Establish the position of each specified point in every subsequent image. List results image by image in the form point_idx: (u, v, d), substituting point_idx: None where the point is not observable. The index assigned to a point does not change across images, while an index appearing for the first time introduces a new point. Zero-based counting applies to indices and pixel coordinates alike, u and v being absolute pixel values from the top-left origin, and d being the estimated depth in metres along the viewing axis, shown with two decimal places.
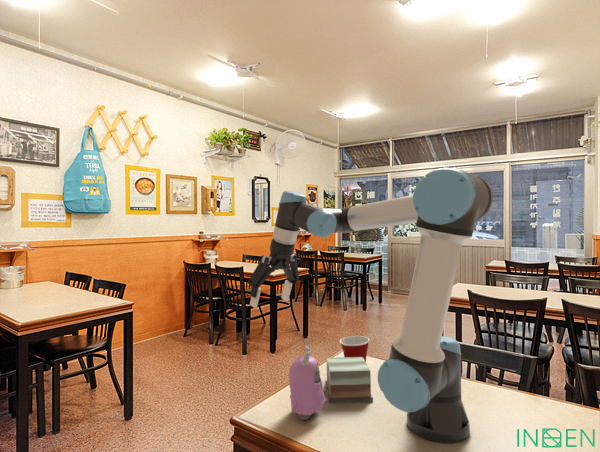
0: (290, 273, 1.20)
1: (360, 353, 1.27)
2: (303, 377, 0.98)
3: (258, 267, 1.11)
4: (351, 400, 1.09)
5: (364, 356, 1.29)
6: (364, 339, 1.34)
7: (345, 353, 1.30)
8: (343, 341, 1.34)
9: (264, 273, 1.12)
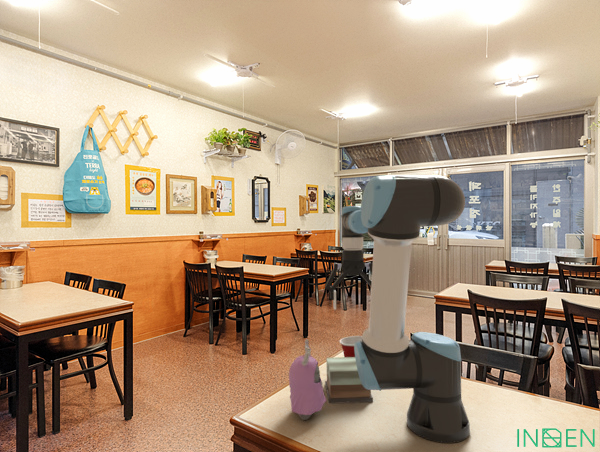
0: (368, 280, 1.31)
1: None
2: (303, 377, 0.98)
3: None
4: (351, 400, 1.09)
5: None
6: None
7: (345, 353, 1.30)
8: (343, 341, 1.34)
9: (338, 278, 1.32)
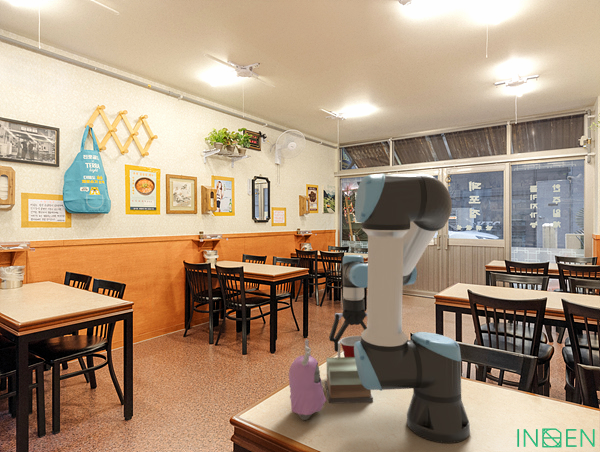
0: None
1: None
2: (303, 377, 0.98)
3: (333, 323, 1.32)
4: (351, 400, 1.09)
5: None
6: None
7: (345, 353, 1.30)
8: (343, 341, 1.34)
9: (341, 329, 1.31)
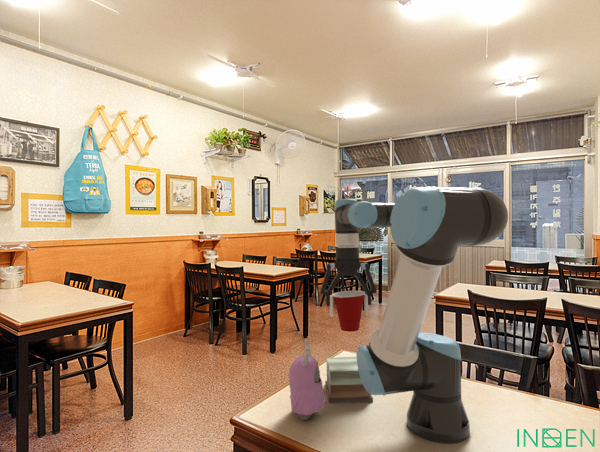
0: (362, 282, 1.18)
1: (354, 306, 1.14)
2: (303, 377, 0.98)
3: (325, 275, 1.19)
4: (351, 400, 1.09)
5: (359, 310, 1.16)
6: (359, 293, 1.21)
7: (338, 307, 1.17)
8: (336, 295, 1.22)
9: (333, 281, 1.19)
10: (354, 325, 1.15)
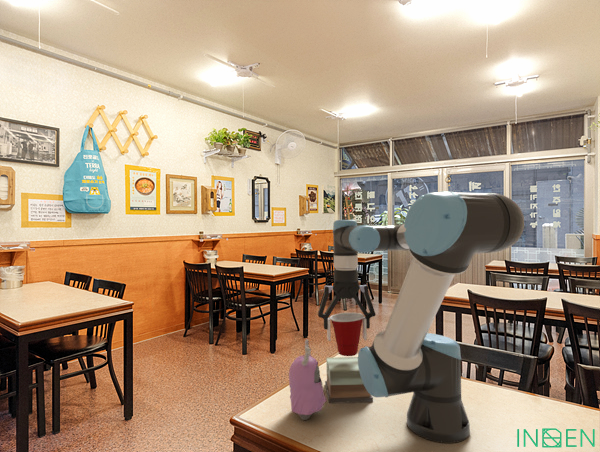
0: (361, 306, 1.15)
1: (352, 330, 1.11)
2: (303, 377, 0.98)
3: (323, 297, 1.16)
4: (351, 400, 1.09)
5: (357, 334, 1.13)
6: (358, 316, 1.18)
7: (336, 330, 1.14)
8: (334, 318, 1.19)
9: (331, 303, 1.15)
10: (352, 350, 1.13)
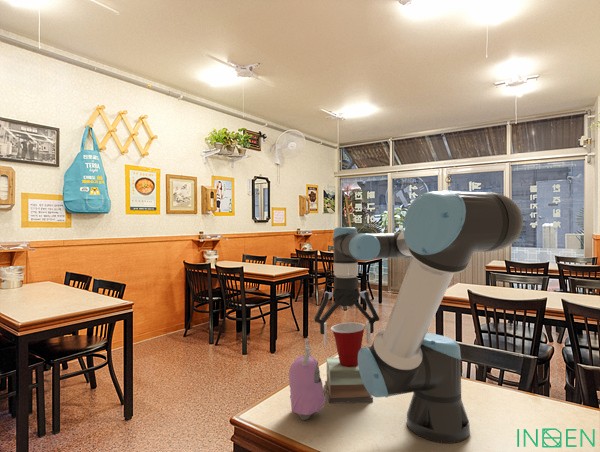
0: (363, 311, 1.15)
1: (353, 341, 1.11)
2: (303, 377, 0.98)
3: None
4: (351, 400, 1.09)
5: (359, 345, 1.13)
6: (359, 326, 1.18)
7: (337, 341, 1.14)
8: (335, 328, 1.18)
9: (329, 309, 1.15)
10: (354, 360, 1.12)
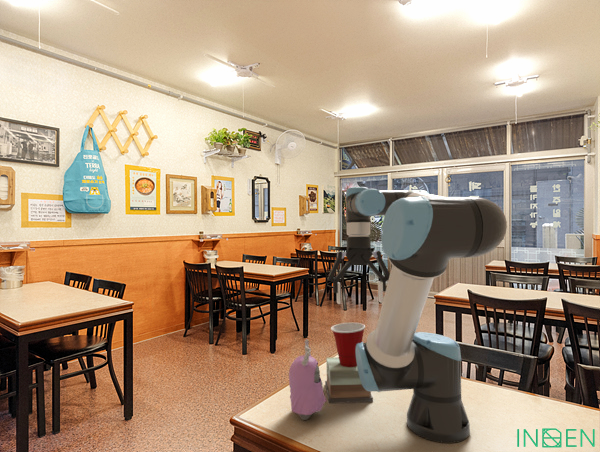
0: (376, 270, 1.17)
1: (353, 341, 1.11)
2: (303, 377, 0.98)
3: (335, 262, 1.17)
4: (351, 400, 1.09)
5: None
6: (359, 326, 1.18)
7: (337, 341, 1.14)
8: (335, 328, 1.18)
9: (342, 268, 1.17)
10: (354, 360, 1.12)
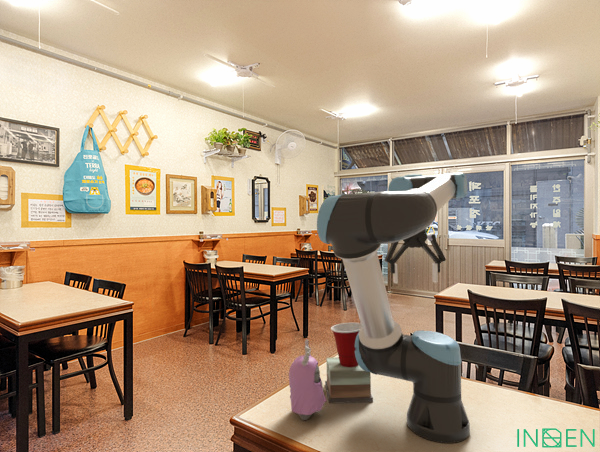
0: (431, 252, 1.24)
1: (353, 341, 1.11)
2: (303, 377, 0.98)
3: (391, 245, 1.26)
4: (351, 400, 1.09)
5: None
6: (359, 326, 1.18)
7: (337, 341, 1.14)
8: (335, 328, 1.18)
9: (399, 251, 1.25)
10: (354, 360, 1.12)
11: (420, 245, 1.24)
